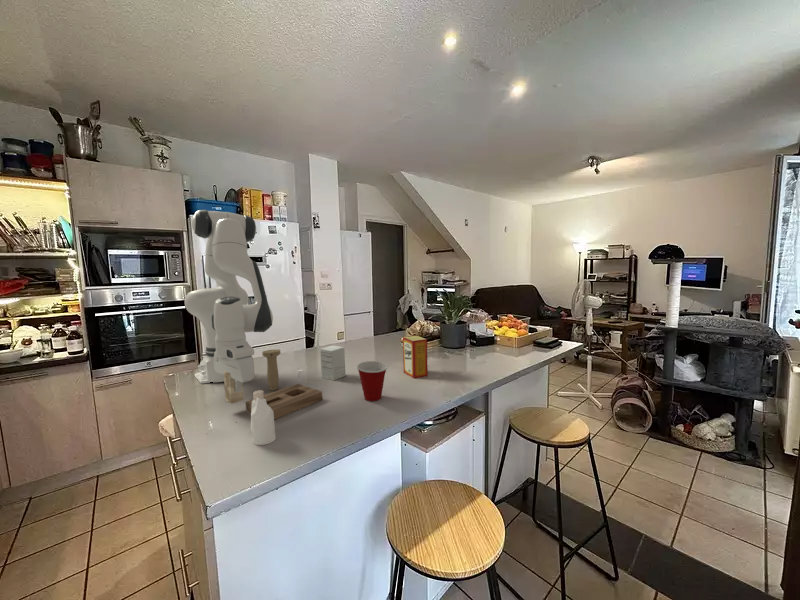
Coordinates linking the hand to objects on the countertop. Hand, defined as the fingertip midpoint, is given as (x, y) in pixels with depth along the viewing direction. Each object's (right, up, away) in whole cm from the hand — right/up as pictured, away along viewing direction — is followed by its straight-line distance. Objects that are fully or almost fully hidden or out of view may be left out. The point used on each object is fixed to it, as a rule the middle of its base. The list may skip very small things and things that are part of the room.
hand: (234, 389), depth 106 cm
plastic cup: (+45, -6, +8) cm, 46 cm away
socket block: (+15, -6, +5) cm, 17 cm away
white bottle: (+14, -8, -12) cm, 20 cm away
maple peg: (0, -4, 0) cm, 4 cm away
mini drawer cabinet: (+26, -4, +33) cm, 42 cm away
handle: (+5, -6, +20) cm, 21 cm away
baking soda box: (+60, -3, +34) cm, 69 cm away
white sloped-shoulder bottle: (+17, -9, -19) cm, 27 cm away
